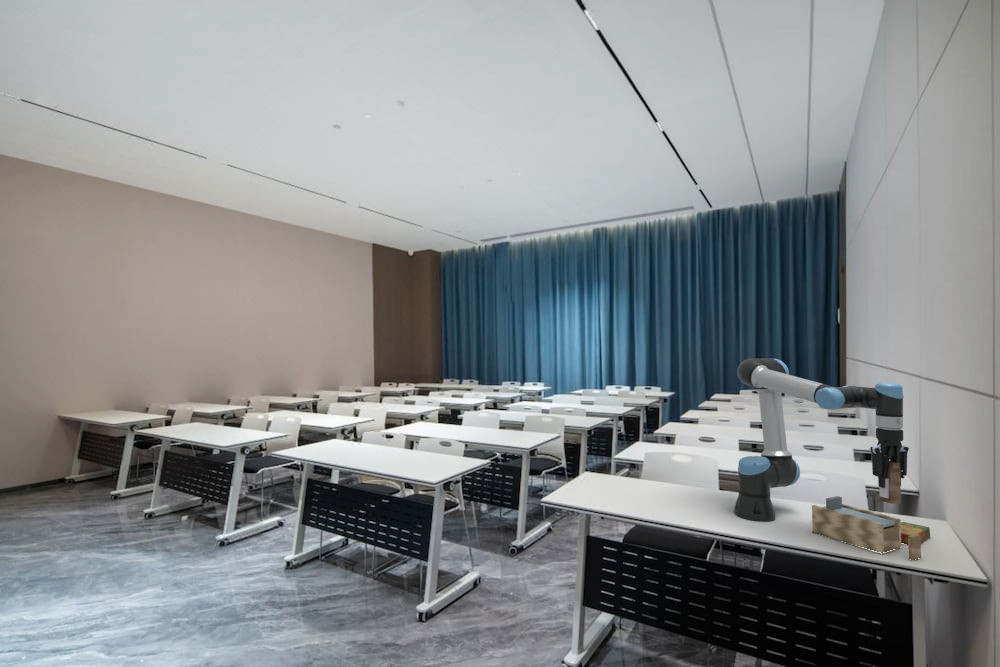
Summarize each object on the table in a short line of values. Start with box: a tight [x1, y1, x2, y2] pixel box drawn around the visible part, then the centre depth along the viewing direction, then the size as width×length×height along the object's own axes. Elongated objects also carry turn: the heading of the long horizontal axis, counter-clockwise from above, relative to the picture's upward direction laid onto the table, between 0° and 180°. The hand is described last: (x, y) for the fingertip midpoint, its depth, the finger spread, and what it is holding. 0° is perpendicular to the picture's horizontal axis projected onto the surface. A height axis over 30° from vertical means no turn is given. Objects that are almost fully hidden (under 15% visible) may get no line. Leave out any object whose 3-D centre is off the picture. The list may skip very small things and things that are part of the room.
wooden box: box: [811, 503, 922, 561], centre depth 177 cm, size 30×12×10 cm, turn 27°
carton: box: [901, 521, 931, 546], centre depth 181 cm, size 8×16×4 cm, turn 126°
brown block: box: [879, 460, 902, 505], centre depth 172 cm, size 5×4×14 cm
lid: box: [822, 495, 895, 528], centre depth 180 cm, size 21×9×5 cm, turn 27°
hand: (889, 496), depth 172 cm, fingers closed on brown block, 4 cm apart
